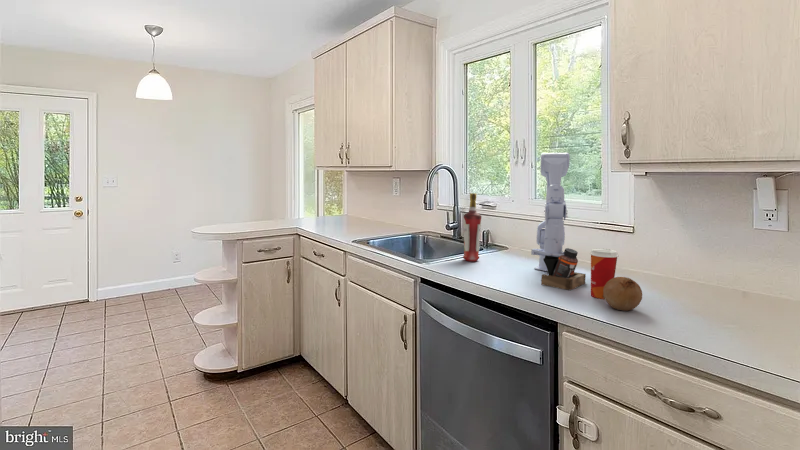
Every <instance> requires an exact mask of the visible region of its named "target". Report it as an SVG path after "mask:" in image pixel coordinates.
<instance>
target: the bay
mask: <svg viewBox="0 0 800 450" xmlns="http://www.w3.org/2000/svg"><path fill="white" fill-rule="evenodd" d="M540 281H541V282H540V283H541V286H546V287H547V286H548V287H552V288H557V289H562V290H567V291H572V290H574V289H576V288H579V287H581V286H582V285H585V284H586V273H581V272H575V271H574V274H573V276H572V277H571V278H568V279H567V278H562V277H556V276H551V275H549V274H541V279H540Z"/></svg>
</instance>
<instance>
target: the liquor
mask: <svg viewBox="0 0 800 450" xmlns="http://www.w3.org/2000/svg"><path fill="white" fill-rule="evenodd" d="M476 200H477V193H475V192H474V193H469V201H470V202H469V208H468V212H466V213H464V214H463V256H462V258H463V259H464V260H465V261H466V262H471V263H472V262H474V263H475V262H477V261H478V260H480V255H479V252H480V251H479V250H480V237H481V227H482V215H481V214H480V213H478V212H477V203H476Z"/></svg>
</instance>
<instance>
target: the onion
mask: <svg viewBox="0 0 800 450" xmlns="http://www.w3.org/2000/svg"><path fill="white" fill-rule="evenodd" d="M603 294H604V295H603V298H604V299H603V300H604V301H605V302H607V304H608V305H609V306H610V307H611V308H612V309H615V310H617V311H623V312H624V311H626V312H627V311H632V310H634V309H635V308H637V307H639V305H640V303H641V302H642V299H643V291H642V288H641V286H640V285H639V283H638V282H636V281H635V280H633V279H632V278H629V277H626V276H615V277H614V278H612V279H610V280H609V281H608V282H607V283H606V284H605V286H604V289H603Z"/></svg>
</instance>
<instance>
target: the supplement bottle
mask: <svg viewBox="0 0 800 450" xmlns="http://www.w3.org/2000/svg"><path fill="white" fill-rule="evenodd" d="M563 252H564V253H563V254H564V255H561V256H559V258H558V261H557V264H556V267H555V270H554V272H553V275H552V276H556V277H562V278H567V279H568V278H571V277H572V276H573V274H574V272H575V270H576V267H577V266H578V263H579V259H578V258H577V256H578V251H577V250H575V249H573V248H569V247H567V248H565V249H564V251H563Z"/></svg>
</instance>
